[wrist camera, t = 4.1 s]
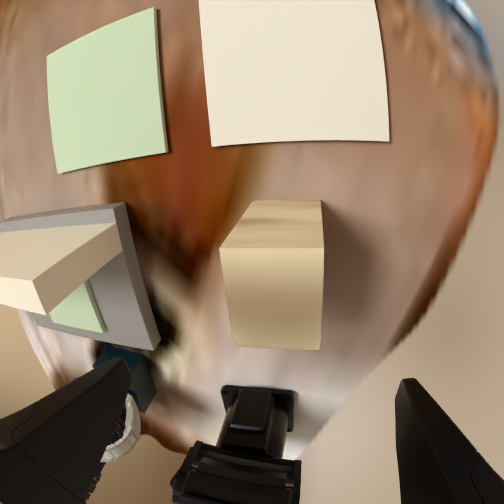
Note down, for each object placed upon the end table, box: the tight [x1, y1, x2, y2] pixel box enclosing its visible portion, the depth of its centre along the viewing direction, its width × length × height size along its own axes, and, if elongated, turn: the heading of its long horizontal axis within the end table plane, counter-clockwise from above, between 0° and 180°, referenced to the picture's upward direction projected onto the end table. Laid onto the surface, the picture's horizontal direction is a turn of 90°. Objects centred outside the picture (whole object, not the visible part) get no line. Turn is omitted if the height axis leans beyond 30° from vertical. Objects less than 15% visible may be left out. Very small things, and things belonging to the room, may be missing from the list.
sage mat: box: [47, 7, 169, 174], centre depth 16 cm, size 10×10×1 cm
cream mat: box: [199, 0, 389, 147], centre depth 14 cm, size 10×10×1 cm
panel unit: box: [0, 202, 161, 350], centre depth 20 cm, size 12×16×10 cm
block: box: [219, 200, 324, 350], centre depth 16 cm, size 5×4×7 cm
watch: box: [93, 346, 156, 462], centre depth 23 cm, size 6×8×11 cm
